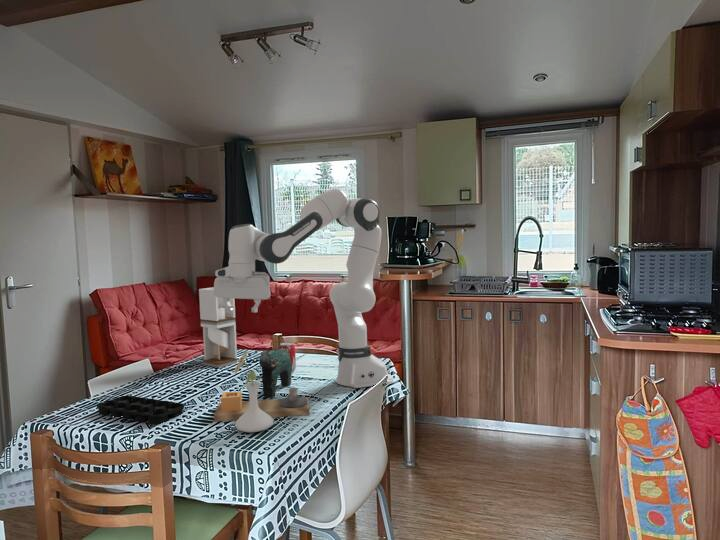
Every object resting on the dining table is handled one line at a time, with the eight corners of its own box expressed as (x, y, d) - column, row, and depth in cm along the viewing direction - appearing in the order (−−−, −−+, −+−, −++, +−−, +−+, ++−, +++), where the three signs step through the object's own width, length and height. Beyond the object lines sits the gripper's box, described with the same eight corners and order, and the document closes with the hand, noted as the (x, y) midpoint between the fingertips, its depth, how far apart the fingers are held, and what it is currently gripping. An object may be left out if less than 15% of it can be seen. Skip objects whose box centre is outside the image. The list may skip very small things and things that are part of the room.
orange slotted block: (242, 404, 172) (241, 391, 171) (240, 410, 166) (240, 396, 165) (223, 405, 171) (223, 392, 170) (221, 411, 165) (221, 398, 165)
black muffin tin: (119, 404, 183) (119, 394, 183) (195, 408, 176) (194, 397, 176) (82, 422, 166) (82, 410, 166) (165, 427, 159) (164, 415, 159)
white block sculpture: (202, 364, 236) (198, 289, 233) (220, 359, 244) (217, 286, 242) (219, 367, 229) (215, 290, 227) (237, 362, 238) (233, 287, 235)
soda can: (298, 371, 219) (297, 343, 219) (283, 374, 215) (282, 346, 215) (291, 368, 225) (290, 341, 224) (276, 370, 221) (275, 343, 220)
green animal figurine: (272, 400, 182) (270, 344, 180) (256, 399, 184) (254, 343, 182) (295, 384, 201) (293, 333, 199) (280, 383, 202) (278, 333, 201)
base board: (308, 402, 178) (307, 382, 177) (309, 414, 166) (308, 393, 165) (219, 409, 174) (218, 388, 173) (214, 421, 162) (213, 400, 161)
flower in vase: (247, 420, 162) (243, 342, 160) (280, 423, 159) (277, 343, 157) (225, 436, 150) (221, 352, 148) (260, 439, 146) (256, 353, 145)
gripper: (273, 271, 175) (273, 311, 176) (221, 270, 181) (221, 309, 182) (265, 272, 169) (265, 314, 170) (211, 271, 175) (211, 311, 176)
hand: (242, 311), depth 176 cm, fingers open, 8 cm apart
